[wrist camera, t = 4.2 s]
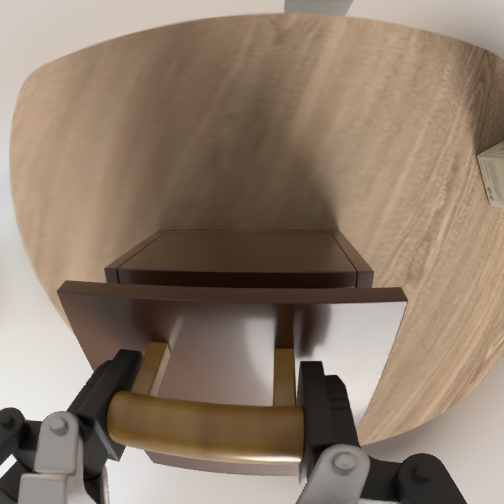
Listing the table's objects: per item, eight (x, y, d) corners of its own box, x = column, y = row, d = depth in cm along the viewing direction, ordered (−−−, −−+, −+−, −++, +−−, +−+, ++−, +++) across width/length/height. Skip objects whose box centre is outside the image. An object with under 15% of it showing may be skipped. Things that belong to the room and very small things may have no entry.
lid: (65, 279, 11) (-5, 367, 6) (401, 286, 10) (456, 403, 5) (155, 454, 18) (140, 510, 14) (332, 464, 17) (335, 525, 13)
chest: (157, 230, 21) (103, 267, 14) (340, 230, 20) (374, 271, 13) (180, 389, 25) (156, 454, 18) (322, 394, 25) (332, 464, 17)
